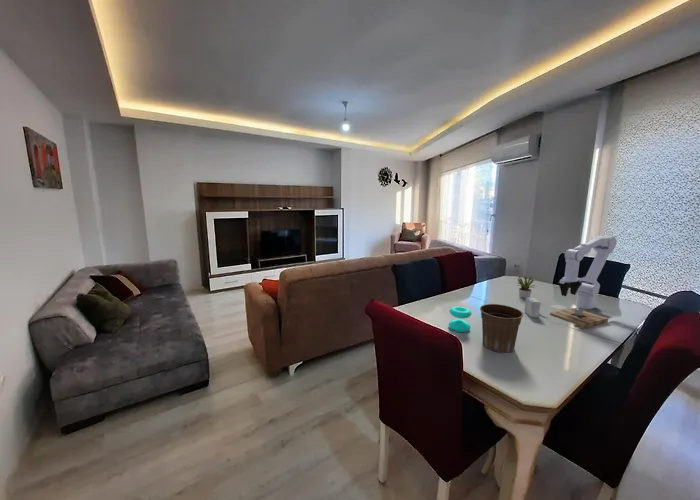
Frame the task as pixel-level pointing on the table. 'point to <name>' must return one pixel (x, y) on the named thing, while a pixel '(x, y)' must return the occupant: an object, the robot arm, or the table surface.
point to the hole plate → (583, 323)
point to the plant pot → (500, 326)
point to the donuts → (457, 323)
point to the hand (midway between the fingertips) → (568, 295)
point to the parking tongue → (558, 307)
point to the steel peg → (578, 312)
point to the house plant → (525, 287)
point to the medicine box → (532, 307)
